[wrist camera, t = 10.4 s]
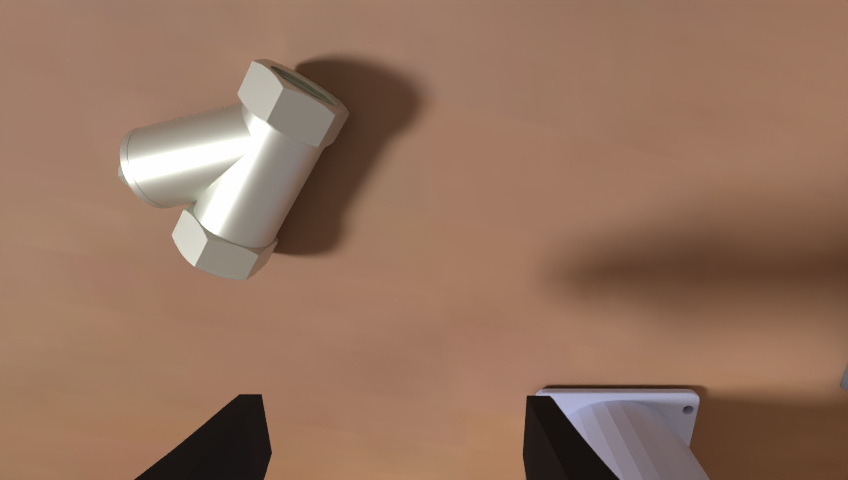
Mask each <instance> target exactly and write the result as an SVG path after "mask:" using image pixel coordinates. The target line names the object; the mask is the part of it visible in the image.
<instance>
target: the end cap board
mask: <svg viewBox="0 0 848 480" xmlns="http://www.w3.org/2000/svg"><path fill="white" fill-rule="evenodd" d="M840 386H841V387H842V388H844V389H845V390H846V391H847V392H848V366H847V368H846V371H845V374H844V377H843V380H842V383H841V385H840Z"/></svg>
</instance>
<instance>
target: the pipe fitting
mask: <svg viewBox="0 0 848 480" xmlns="http://www.w3.org/2000/svg"><path fill="white" fill-rule="evenodd" d="M238 96H239V98H240V99H241V101H242V103H238V104H234V105H230V106H226V107H222V108H218V109H214V110H210V111H206V112H202V113H197V114H193V115H189V116H185V117H181V118H177V119H173V120H169V121H165V122H161V123H157V124H152V125H148V126H144V127H139V128H136V129H133V130H131V131H129V132H128V133H127V134H126V135H125V137H124V138H123V140H122V143H121V147H120V165H119V170H118V174H119V177H120V179H121V180H122V181H123V182H124V183H125V184H126V185H127V186H129V187H130V188H131V189H132V190H133V191H134V193H135V194H136V195H137V196H138V197H139V198H140V199H141V200H143V201H144V202H145V203H147V204H149V205H151V206H153V207H156V208H170V207H174V206H179V205H183V204H188V203H193V202H196V203H194V204H192V205H190V206H188V207H187V208H185V209H184V210H183V212H182V214H181V217H180V219H179V221H178V223H177V225H176V227H175V230H174V232H173V234H172V237H173V239H174V241H175V244H176V246H177V247H178V249H179V251H180V252H181V254H182V255H183V256H184V257H185V258H186V260H187V261H188V262H189V263H191V264H192V265H193V266H194V267H196V268H198V269H200V270H202V271H205V272H207V273H210V274H212V275H215V276H219V277H223V278H228V279H234V280H247V279H249V278H250V277H252V276H253V275H254V274H256V273H257V272H258V271H259V270H260V269H261V268H262V267H263V266H264V265H265V264H266V263H267V261H268V259H269V257H270V256H271V254H272V252H273V250H274V248H275V247H276V245H277V243H278V241H279V240H278V239H277V237H276V234H277V233H278V231H279V229H280V227H281V225H282V224H283V222H284V220H285V218H286V216H287V215H288V213H289V211H290V209H291V207H292V205H293V204H294V202H295V200H296V198H297V196H298V195H299V193H300V191H301V189H302V187H303V186H304V184H305V182H306V180H307V178H308V177H309V175H310V173H311V171H312V169H313V168H314V166H315V164H316V162H317V160H318V158H319V157H320V155H321V153H322V151H323V149H324V148H325V147H327V146H329V145H330V144H332V143H333V142H334V141H335V139H336V137H337V136H338V134H339V132H340V130H341V128H342V127H343V125H344V123H345V121H346V119H347V118H348V116H349V114H350V113H349V112H348V110H347V108H346V107H345V106H344V105H343V103H342V102H340V101H339V100H338V99H337V98H336V97H334V96H333V95H332V94H331V93H329V92H328V91H326V90H325V89H324V88H322V87H321V86H319V85H317V84H316V83H314V82H313V81H311V80H309V79H308V78H306V77H304V76H303V75H301V74H299V73H297V72H295V71H294V70H292V69H290V68H288V67H286V66H283V65H281V64H279V63H277V62H274V61H271V60H268V59H258V60H254V61H252V63H251V66H250V68H249V70H248V72H247V74H246V76H245V79H244V81H243V83H242V85H241V87H240V89H239V91H238Z"/></svg>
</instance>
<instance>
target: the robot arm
mask: <svg viewBox="0 0 848 480" xmlns="http://www.w3.org/2000/svg"><path fill="white" fill-rule="evenodd" d="M699 402H700V398H699V396H698V395H697V394H696V392H695V391H693V390H691V389H541V390H539V391H538V392H537V393H536V395H535V396H527V402H526V416H525V431H524V445H523V460H524V466H525V473H526V479H527V480H710V479H709V477H708V476H707V474H706V473H705V471H704V470H703V468H702V467H701V465H700V464H699V462H698V461H697V459H696V458H695V456H694V455H693V453H692V452H691V450H690V449H689V446H690V442H691V437H692V433H693V429H694V424H695V420H696V415H697V411H698V407H699ZM686 406H688V407H687V408H685V409H683V408H684V407H686ZM271 454H272V451H271V445H270V440H269V434H268V428H267V423H266V417H265V411H264V406H263V400H262V394H240V395H238V396H237V397H236V398H234V399H233V400H232V401H231V402H230V403H228V404H227V405H226V406H225V407H224V408H222V409H221V410H220V411H219V412H218V413H217V414H215V415H214V416H213V417H212V418H211V419H209V420H208V421H207V422H206V423H205V424H204V425H202V426H201V427H200V428H199V429H198V430H196V431H195V432H194V433H193V434H192V435H190V436H189V437H188V438H187V439H186V440H184V441H183V442H182V443H181V444H180V445H178V446H177V447H176V448H175V449H173V450H172V451H171V452H170V453H168V454H167V455H166V456H164V457H163V458H162V459H160V460H159V461H158V462H157V463H155V464H154V465H153V466H151V467H150V468H149V469H147V470H146V471H145V472H144V473H142V474H141V475H140V476H138V477H137V478H136V479H134V480H264V477H265V474H266V471H267V467H268V464H269V461H270V457H271Z"/></svg>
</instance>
